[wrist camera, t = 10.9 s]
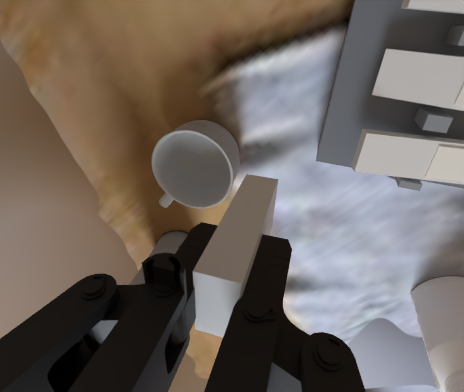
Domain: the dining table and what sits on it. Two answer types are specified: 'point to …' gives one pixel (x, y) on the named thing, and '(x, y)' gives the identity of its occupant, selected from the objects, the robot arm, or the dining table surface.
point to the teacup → (196, 164)
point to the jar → (443, 329)
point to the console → (365, 75)
